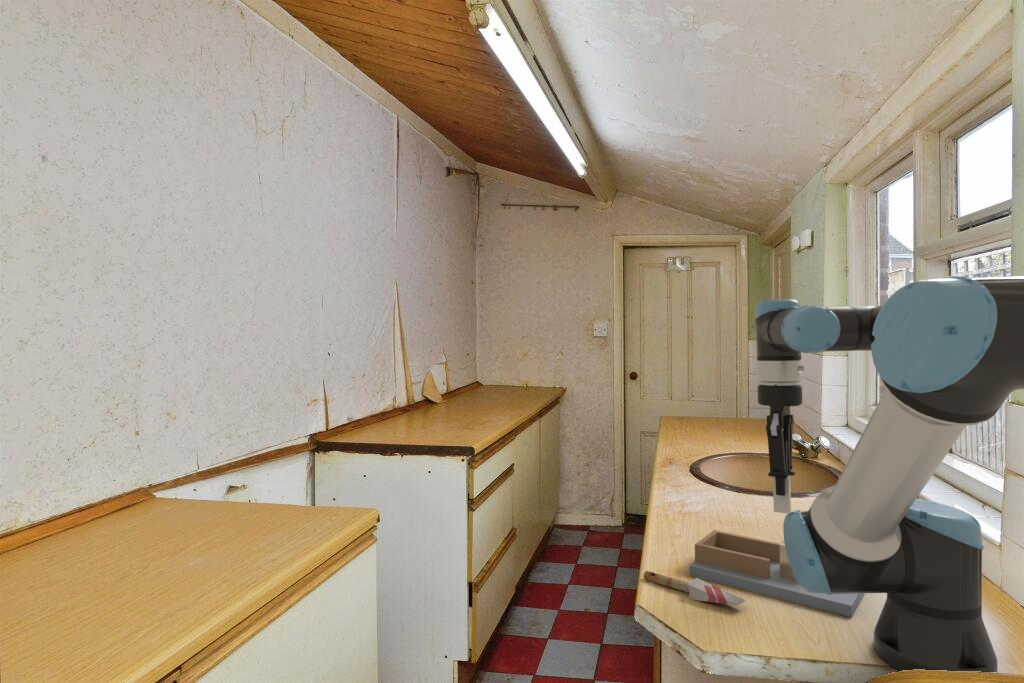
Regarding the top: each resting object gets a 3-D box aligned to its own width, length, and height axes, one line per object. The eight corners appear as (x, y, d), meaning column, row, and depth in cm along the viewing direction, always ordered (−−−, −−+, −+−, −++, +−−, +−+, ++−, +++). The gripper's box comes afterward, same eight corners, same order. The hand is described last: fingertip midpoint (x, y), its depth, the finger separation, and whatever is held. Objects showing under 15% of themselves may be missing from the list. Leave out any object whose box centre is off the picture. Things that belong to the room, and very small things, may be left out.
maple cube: (808, 582, 113) (807, 550, 113) (779, 575, 116) (779, 544, 116) (814, 573, 117) (814, 542, 117) (787, 567, 120) (787, 537, 120)
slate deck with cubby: (851, 617, 104) (851, 585, 103) (689, 575, 122) (689, 548, 122) (873, 578, 119) (872, 550, 119) (726, 545, 138) (725, 521, 137)
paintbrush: (736, 598, 105) (640, 571, 120) (737, 614, 105) (641, 585, 120) (747, 591, 108) (651, 565, 122) (747, 606, 108) (652, 578, 122)
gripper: (795, 386, 104) (798, 523, 104) (807, 381, 115) (810, 506, 115) (749, 385, 108) (752, 517, 108) (765, 381, 119) (768, 501, 119)
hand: (782, 511), depth 112 cm, fingers closed
